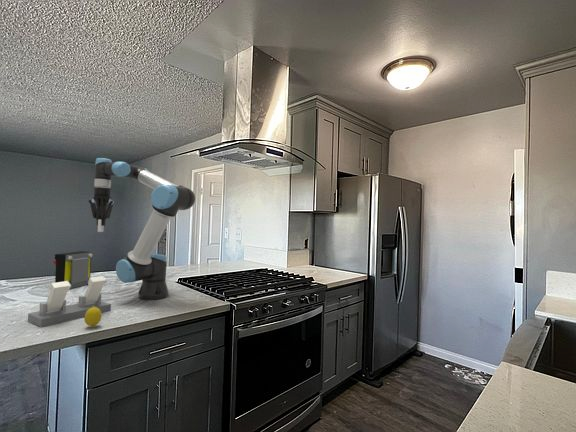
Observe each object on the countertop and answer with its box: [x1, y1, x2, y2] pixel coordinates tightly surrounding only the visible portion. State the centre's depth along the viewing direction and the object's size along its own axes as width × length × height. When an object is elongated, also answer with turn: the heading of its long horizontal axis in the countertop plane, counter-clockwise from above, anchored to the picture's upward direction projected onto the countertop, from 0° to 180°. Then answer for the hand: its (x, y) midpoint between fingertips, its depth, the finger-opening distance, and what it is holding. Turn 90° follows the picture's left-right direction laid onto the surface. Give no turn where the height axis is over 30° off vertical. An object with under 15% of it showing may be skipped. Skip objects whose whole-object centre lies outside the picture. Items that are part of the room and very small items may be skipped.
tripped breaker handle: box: [45, 281, 71, 312], centre depth 120 cm, size 3×6×13 cm
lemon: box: [84, 306, 103, 328], centre depth 116 cm, size 6×6×8 cm
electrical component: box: [53, 250, 94, 290], centre depth 178 cm, size 18×10×20 cm, turn 168°
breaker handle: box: [83, 275, 107, 304], centre depth 132 cm, size 3×6×13 cm, turn 149°
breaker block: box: [27, 292, 112, 328], centre depth 128 cm, size 12×26×8 cm, turn 150°
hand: (100, 231), depth 159 cm, fingers closed
